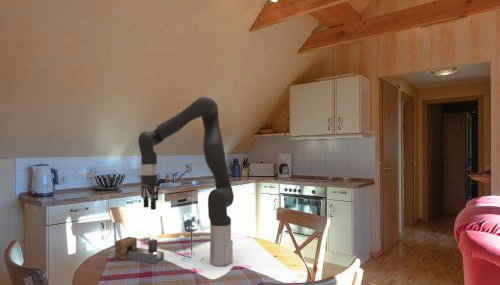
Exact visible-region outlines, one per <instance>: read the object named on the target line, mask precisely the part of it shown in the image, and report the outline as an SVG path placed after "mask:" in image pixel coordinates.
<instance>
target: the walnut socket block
mask: <svg viewBox="0 0 500 285" xmlns="http://www.w3.org/2000/svg"><path fill="white" fill-rule="evenodd" d="M137 239H138V238H137V237H134V236H126V237H124V238H121V239H118V240H116V241H115V242H114V244H115V245H114V250H115V251H114V252H115V253H114V257H115V258H116V259H120V260H124V259H126V258H127V259H128V251H129V250H131V251H135V248H138V247H137V246H138V245H137V242H138V240H137Z"/></svg>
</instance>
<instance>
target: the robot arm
mask: <svg viewBox="0 0 500 285" xmlns="http://www.w3.org/2000/svg"><path fill="white" fill-rule="evenodd" d="M199 118H201V119H202V123H203V128H204V129H203V130H204V133H203V143H202V146H203V154H204V159H205V163H206V165H207V166H208V169H209V171H210V172H211V174H212V176H213V178H214V179H213V180H214V182H215V188H214V189H212V190H211V191H210V192H209V194H208V197H207V211H208V213H207V214H208V218H209V222H210V223H209V225H210V226H209V228H210V230H209V234H210V235H209V255H210V256H209V257H210V258H209V263H210V265H212V266H216V267H222V266H224V267H227V266H228V265H229V264H231V263H232V262H233V258H234V257H233V256H234V255H233V253H234V252H233V251H234V248H233V246H234V244H233V243H234V241H233V240H232V230H231V229H232V218H231V217H230V216H229V215H228V210H227V209H228V208H229V207H230V206H232V205H233V202H234V197H235V196H234V191H233V187H232V184H231V181H230V177H229V173H228V172H229V171H228V166H227V160H226V153H225V148H224V143H223V138H222V137H223V136H222V133H221V128H220V123H219V121H220V120H219V107H218V104H217V102H216V101H215V100H214V99H213V98H211V97H209V96H205V95H204V96H200V97H198V98H196V100H194V101H193V102H191V104H190V105H188V106H187V107H186V108H184V109H183V110H181V111H180V112H179V113H177V114H175V115H174V116H172V117H170V118H169V119H166V120H165V121H164V122H161V123H160V124H158V125H157V126H156V128H155V129H154V130H151V131H141V133H140V134H139V136H138V146H139V147H138V148H139V152H140V156H141V158H140V161H141V162H140V163H141V164H140V165H141V166H140V184H141V189H140V190H141V194H140V195H141V197H140V198H142V200H143V208H149V206H150V210H153V211H154V210H156V209H157V201H159V187H158V186H155V185H157V184H158V182H159V181H158V180H159V179H158V178H159V176H158V171H159V170H158V157H157V155H158V154H157V153H156V152H155V151H154V147H156V146H157V145H159V144H161V143H162V142H164V140H166V139H167V138H168V137H171V136H172V135H174V134H176V133H178V132H179V131H180V130H182V129H183V128H184V127H185V126H186V125H188V123H190V122H192V121H194V120H196V119H199ZM149 203H150V205H149Z"/></svg>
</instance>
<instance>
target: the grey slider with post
mask: <svg viewBox="0 0 500 285" xmlns="http://www.w3.org/2000/svg"><path fill="white" fill-rule="evenodd" d="M147 242H148V244H147V246H148V248H147V249H148V251H147V250H141V249H137V250H136V251H137V252H142V253H148V254H154V255H157V259H161V257H162V254H161V253H159V252H156V251H158V239H154V238H152V239H149V240H148V241H147Z"/></svg>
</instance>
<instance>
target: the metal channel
mask: <svg viewBox="0 0 500 285" xmlns="http://www.w3.org/2000/svg"><path fill="white" fill-rule="evenodd" d="M137 249H141V250H147V251H148V248H144V247H143V248H142V247H137V248H135V251H131V250H129V251H128V257H127V259H128V260H133V261H139V262H143V263H144V262H145V263H150V264H155V265H156V264H158V263H160V262H162V261H164V260H165V258H164V257H165V256H164V254H165V252H164V251H160V250H157V251H156V252H159V253H161V254H162V257H161V259H157V255H154V254H148V253H142V252H137V251H136V250H137Z"/></svg>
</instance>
